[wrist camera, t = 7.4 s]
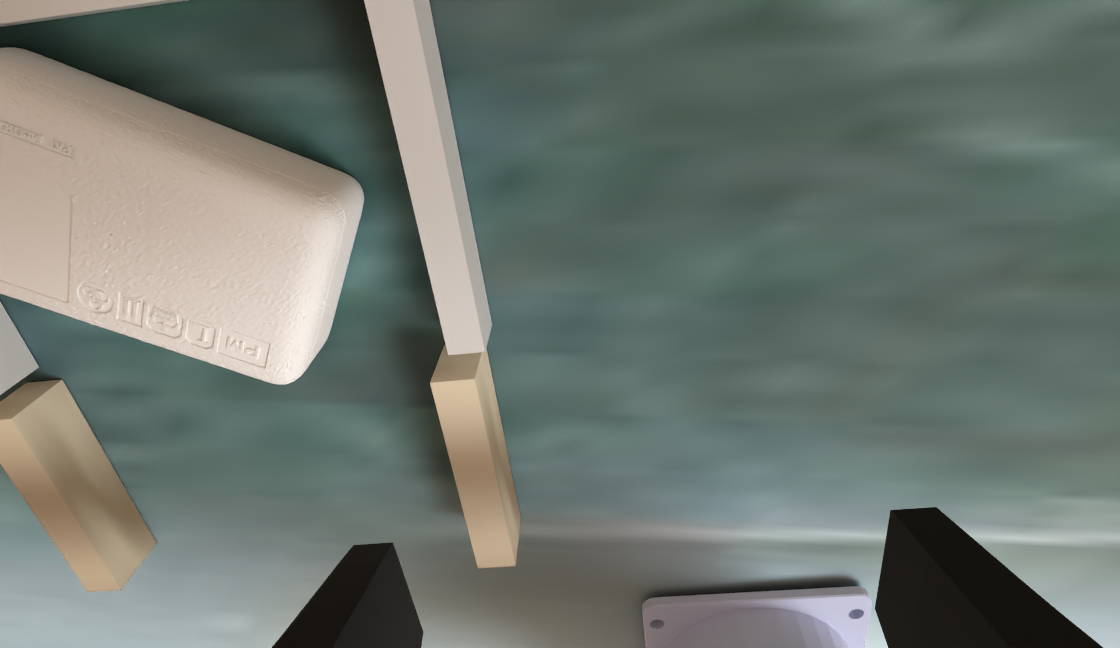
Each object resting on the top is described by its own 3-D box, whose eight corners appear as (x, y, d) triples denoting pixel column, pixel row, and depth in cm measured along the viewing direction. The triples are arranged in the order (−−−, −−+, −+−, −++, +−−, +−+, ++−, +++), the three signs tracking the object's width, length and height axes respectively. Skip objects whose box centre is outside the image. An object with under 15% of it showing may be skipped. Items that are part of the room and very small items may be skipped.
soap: (377, 176, 17) (338, 213, 14) (331, 344, 19) (291, 403, 17) (12, 33, 15) (-107, 45, 13) (13, 234, 18) (-86, 278, 15)
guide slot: (520, 518, 22) (515, 565, 20) (125, 545, 23) (87, 591, 21) (484, 340, 19) (474, 379, 17) (26, 382, 20) (-28, 422, 18)
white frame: (492, 324, 18) (484, 351, 17) (8, 369, 20) (-33, 398, 18) (411, -87, 14) (393, -94, 12) (-215, 7, 15) (-294, 10, 14)
